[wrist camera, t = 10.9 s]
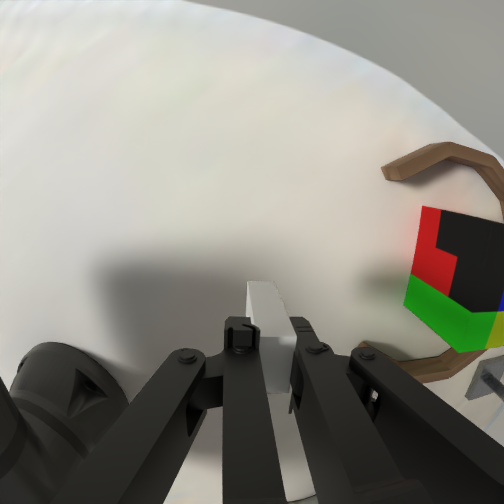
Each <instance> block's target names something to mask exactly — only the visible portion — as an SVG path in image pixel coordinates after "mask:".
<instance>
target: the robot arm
mask: <svg viewBox="0 0 504 504" xmlns="http://www.w3.org/2000/svg"><path fill="white" fill-rule="evenodd" d="M290 383H291V386H292V395H291V401H290V407H289V414H291V413H292V409H293V410H294V413H295V417H296V421H297V425H298V428H299V432H300V436H301V440H302V443H303V447H304V451H305V455H306V458H307V462H308V466H309V470H310V473H311V477H312V481H313V485H314V488H315V492H316V496H317V500H318V503H319V504H504V447H503V446H502V445H500V444H499V443H498V442H497V441H495V440H494V439H493V438H491V437H490V436H489V435H487V434H486V433H485V432H484V431H482V430H481V429H480V428H478V427H477V426H476V425H475V424H473V423H472V422H471V421H469V420H468V419H467V418H465V417H464V416H463V415H462V414H460V413H459V412H458V411H456V410H455V409H454V408H452V407H451V406H450V405H449V404H447V403H446V402H445V401H443V400H442V399H441V398H439V397H438V396H437V395H436V394H434V393H433V392H432V391H430V390H429V389H428V388H427V387H425V386H424V385H423V384H421V383H420V382H419V381H417V380H416V379H415V378H414V377H412V376H411V375H410V374H408V373H407V372H406V371H404V370H403V369H402V368H401V367H399V366H398V365H397V364H395V363H394V362H393V361H392V360H390V359H389V358H388V357H386V356H385V355H384V354H382V353H381V352H380V351H378V350H376V349H374V348H371V347H366V346H363V347H357V348H355V349H353V350H352V352H351V356H342V355H336V354H334V352H333V350H332V349H331V347H330V346H329V345H327V344H325V343H323V342H320V341H319V339H318V338H317V336H316V334H315V332H314V330H313V328H312V326H311V325H310V323H309V321H308V320H306V319H305V318H303V317H289V316H288V314H287V311H286V309H285V307H284V304H283V302H282V299H281V297H280V295H279V292H278V290H277V287H276V285H275V283H274V281H248V282H247V301H246V317H229V318H228V319H227V320H226V321H225V330H224V350H223V351H222V352H221V353H220V354H218V355H216V356H213V357H207V358H206V357H205V355H204V354H203V353H202V352H200V351H199V350H195V349H189V348H185V349H184V348H183V349H179V350H176V351H174V352H172V353H171V354H170V355H169V356H168V358H167V359H166V360H165V361H164V363H163V364H162V365H161V366H160V368H159V369H158V370H157V371H156V372H155V374H154V375H153V376H152V377H151V379H150V380H149V381H148V382H147V384H146V385H145V386H144V387H143V388H142V390H141V391H140V392H139V393H138V395H137V396H136V397H135V398H134V400H133V401H132V402H131V403H130V405H129V404H128V402H127V399H126V397H125V395H124V393H123V391H122V390H121V388H120V387H119V385H118V384H117V382H116V381H115V380H114V379H113V377H112V376H111V375H110V374H109V373H108V372H107V371H106V370H105V369H104V368H103V367H102V366H100V365H99V364H98V363H97V362H96V361H94V360H93V359H92V358H90V357H89V356H87V355H86V354H84V353H82V352H80V351H79V350H77V349H74V348H72V347H70V346H67V345H64V344H60V343H53V342H47V343H41V344H39V345H37V346H35V347H34V348H32V349H31V350H30V351H29V352H28V353H27V354H26V355H25V356H24V357H23V359H22V360H21V362H20V364H19V366H18V370H17V375H16V376H15V378H14V380H13V383H12V385H11V388H10V391H9V392H8V390H7V388H6V386H5V384H4V383H3V381H2V379H1V377H0V504H163V503H164V501H165V499H166V497H167V495H168V492H169V490H170V488H171V486H172V484H173V482H174V480H175V478H176V476H177V474H178V472H179V470H180V468H181V466H182V464H183V462H184V460H185V458H186V456H187V454H188V452H189V449H190V447H191V445H192V443H193V441H194V439H195V437H196V435H197V433H198V431H199V429H200V426H201V424H202V422H203V420H204V418H205V416H206V413H207V409H210V408H215V407H221V406H223V446H222V486H223V504H288V503H287V501H286V497H285V491H284V486H283V480H282V475H281V470H280V464H279V459H278V453H277V448H276V442H275V437H274V431H273V425H272V420H271V414H270V409H269V403H268V397H267V393H289V389H290ZM374 390H375V391H376V392H377V393H378V397H377V399H376V400H375V399H374V398H373V397H372V394H373V391H374Z"/></svg>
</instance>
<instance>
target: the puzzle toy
mask: <svg viewBox="0 0 504 504" xmlns="http://www.w3.org/2000/svg"><path fill="white" fill-rule="evenodd" d="M404 306H405V307H406V308H407V309H409V310H410V311H411V312H412V313H413V314H414V315H416V316H417V317H418V318H419V319H420V320H421V321H423V322H424V323H425V324H426V325H427V326H428V327H430V328H431V329H432V330H433V331H434V332H435V333H436V334H438V335H439V336H440V337H441V338H442V339H443V340H444V341H445V342H447V343H448V344H449V345H450V346H451V347H452V348H453V349H454V350H455V351H457V352H458V353H462V352H469V351H476V350H482V349H489V348H495V347H500V346H504V224H503V223H499V222H495V221H491V220H487V219H483V218H478V217H474V216H469V215H465V214H460V213H456V212H451V211H446V210H441V209H436V208H431V207H426V206H422V211H421V219H420V225H419V232H418V238H417V244H416V249H415V255H414V260H413V265H412V270H411V275H410V279H409V284H408V288H407V292H406V297H405V301H404Z"/></svg>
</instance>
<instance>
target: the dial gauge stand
mask: <svg viewBox="0 0 504 504" xmlns="http://www.w3.org/2000/svg"><path fill="white" fill-rule="evenodd" d="M503 372H504V355H503V356H499V357H495V358H491V359H487V360H483V361H480V362H479V365H478V367H477V370H476V372H475V375H474V377H473V379H472V382H471V384H470V386H469V388H468V391H467V393H466V395H465V397H466V398H467V399H468V400H473V399H476V398H479V397H482V396H485V395H488V394H491V393H494V392H495V393H496V394H497V395H498V396H499V397H500V398H501V399H502V400H503V401H504V385H503V384H502V383H501V382H500V379H501V376H502V374H503Z"/></svg>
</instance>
